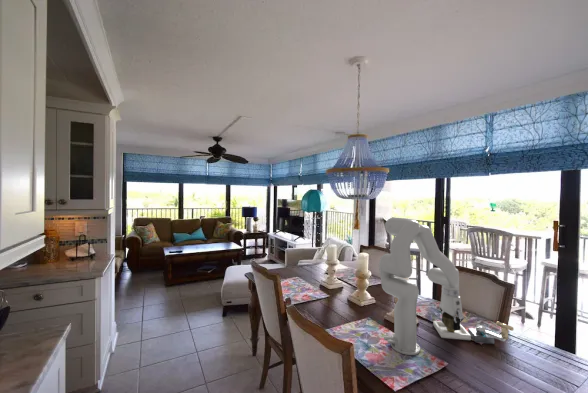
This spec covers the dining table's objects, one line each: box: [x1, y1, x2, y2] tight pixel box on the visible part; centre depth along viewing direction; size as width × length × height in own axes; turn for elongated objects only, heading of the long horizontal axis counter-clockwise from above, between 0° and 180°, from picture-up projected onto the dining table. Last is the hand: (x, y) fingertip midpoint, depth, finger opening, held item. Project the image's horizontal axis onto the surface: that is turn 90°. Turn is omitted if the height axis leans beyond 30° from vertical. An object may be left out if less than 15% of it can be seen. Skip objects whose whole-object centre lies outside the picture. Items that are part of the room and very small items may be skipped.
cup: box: [441, 313, 458, 332], centre depth 137 cm, size 8×7×8 cm
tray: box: [432, 320, 472, 341], centre depth 137 cm, size 13×13×2 cm
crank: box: [475, 321, 514, 342], centre depth 125 cm, size 15×4×8 cm, turn 29°
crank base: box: [467, 327, 495, 345], centre depth 130 cm, size 8×8×3 cm
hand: (450, 325), depth 137 cm, fingers open, 7 cm apart
